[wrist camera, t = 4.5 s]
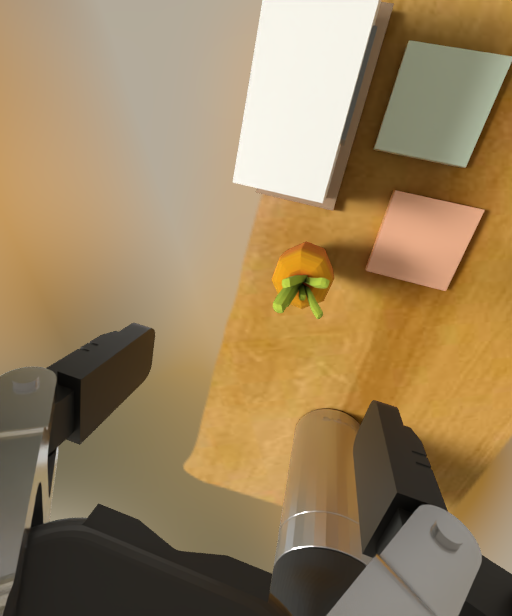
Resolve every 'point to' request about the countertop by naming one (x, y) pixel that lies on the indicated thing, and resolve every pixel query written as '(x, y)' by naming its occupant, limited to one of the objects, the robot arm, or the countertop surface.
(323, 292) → the carrot
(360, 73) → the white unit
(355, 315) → the countertop surface
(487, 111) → the sage tile
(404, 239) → the terracotta tile
